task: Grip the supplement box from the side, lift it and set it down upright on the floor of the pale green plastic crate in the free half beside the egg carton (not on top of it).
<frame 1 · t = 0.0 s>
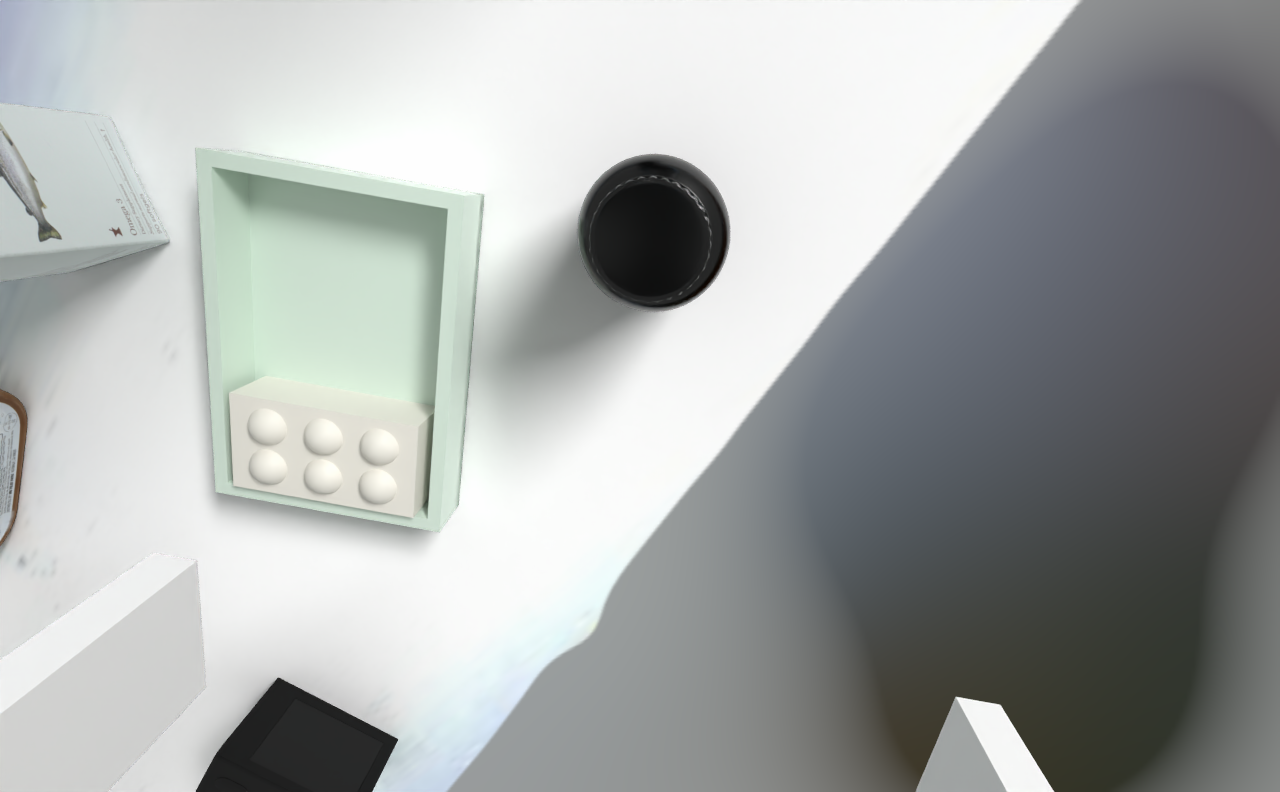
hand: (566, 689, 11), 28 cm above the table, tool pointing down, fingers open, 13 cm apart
tin: (13, 461, 43), on the table
egg carton: (356, 431, 41), resting on crate
supplement box: (95, 196, 37), on the table
digital camera: (326, 727, 49), on the table
supplement bottle: (658, 225, 36), on the table
crate: (358, 342, 39), on the table
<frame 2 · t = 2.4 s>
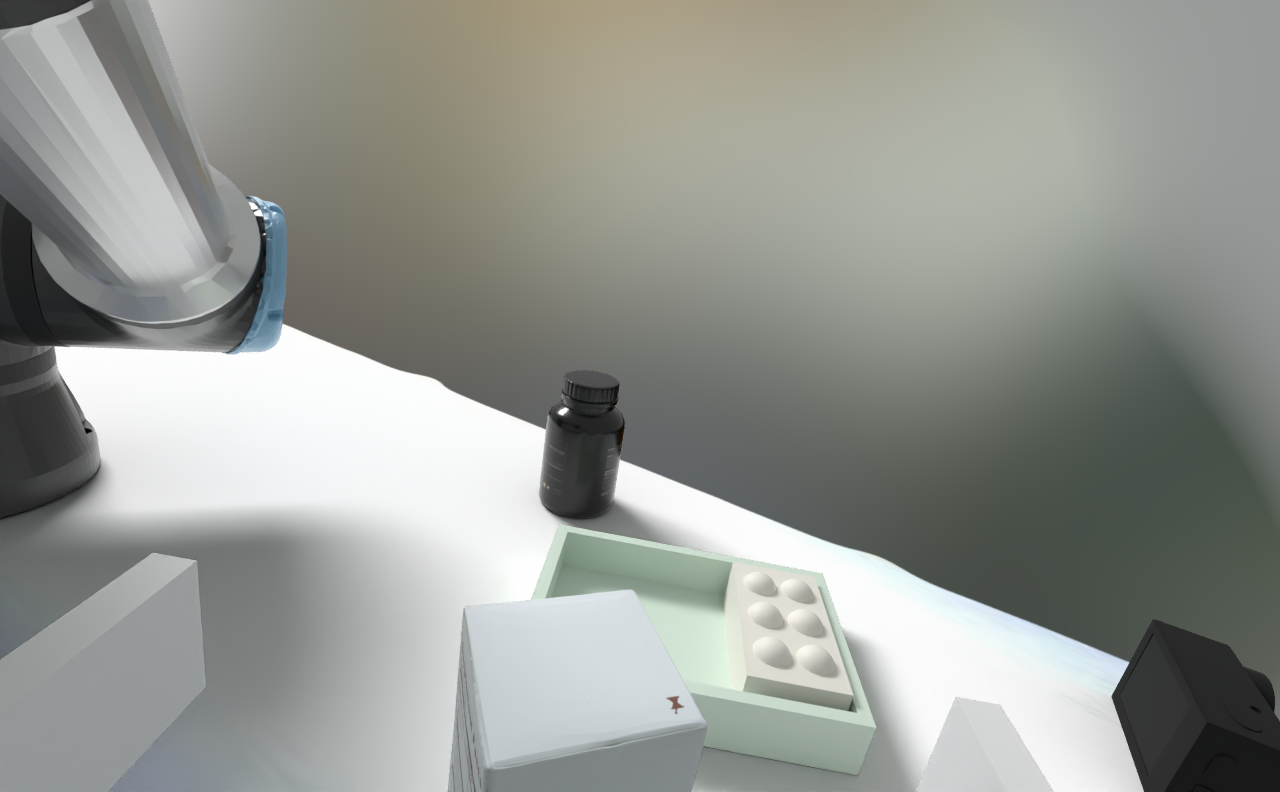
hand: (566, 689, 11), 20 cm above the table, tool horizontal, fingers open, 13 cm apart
egg carton: (770, 669, 41), resting on crate
digital camera: (1178, 773, 39), on the table
supplement bottle: (574, 503, 58), on the table
crate: (680, 652, 41), on the table
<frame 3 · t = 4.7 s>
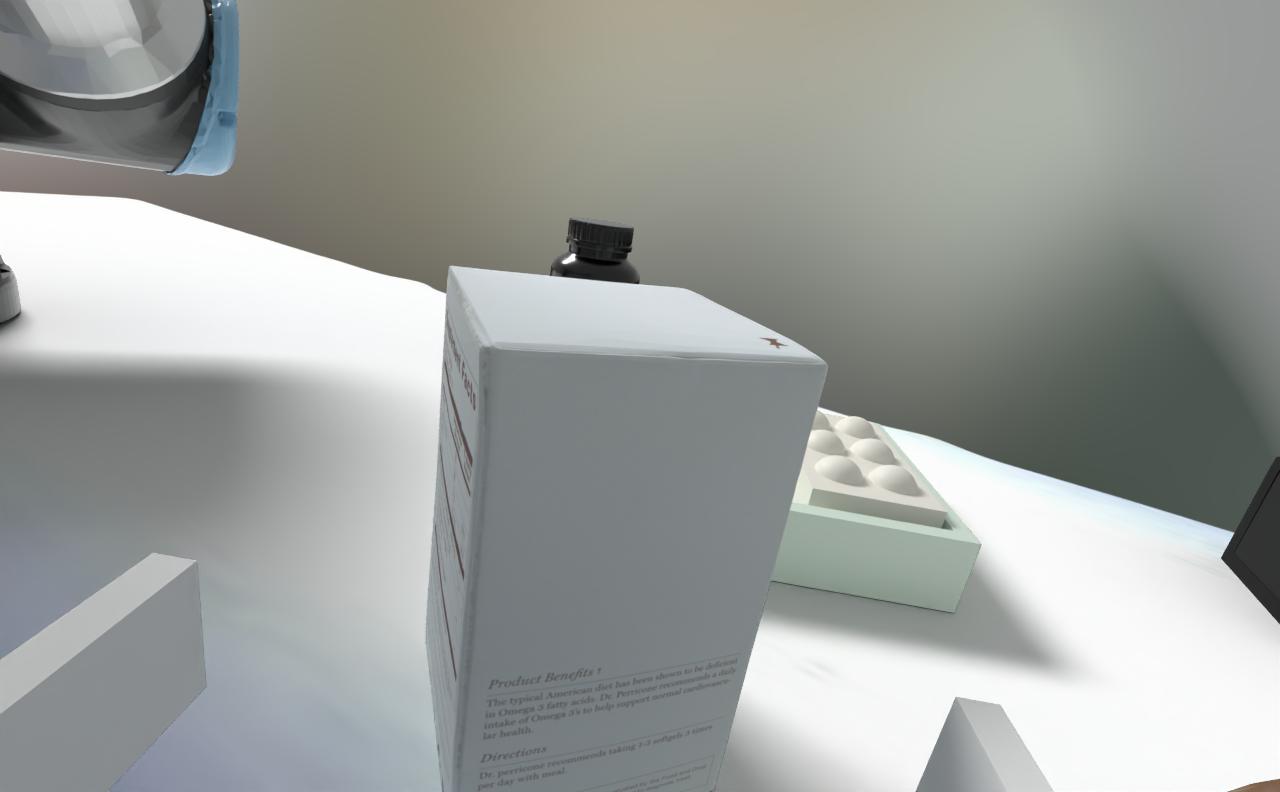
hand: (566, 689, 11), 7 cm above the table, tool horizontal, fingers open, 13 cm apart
egg carton: (827, 516, 34), resting on crate
supplement box: (555, 719, 19), on the table
supplement bottle: (581, 378, 50), on the table
crate: (718, 497, 34), on the table
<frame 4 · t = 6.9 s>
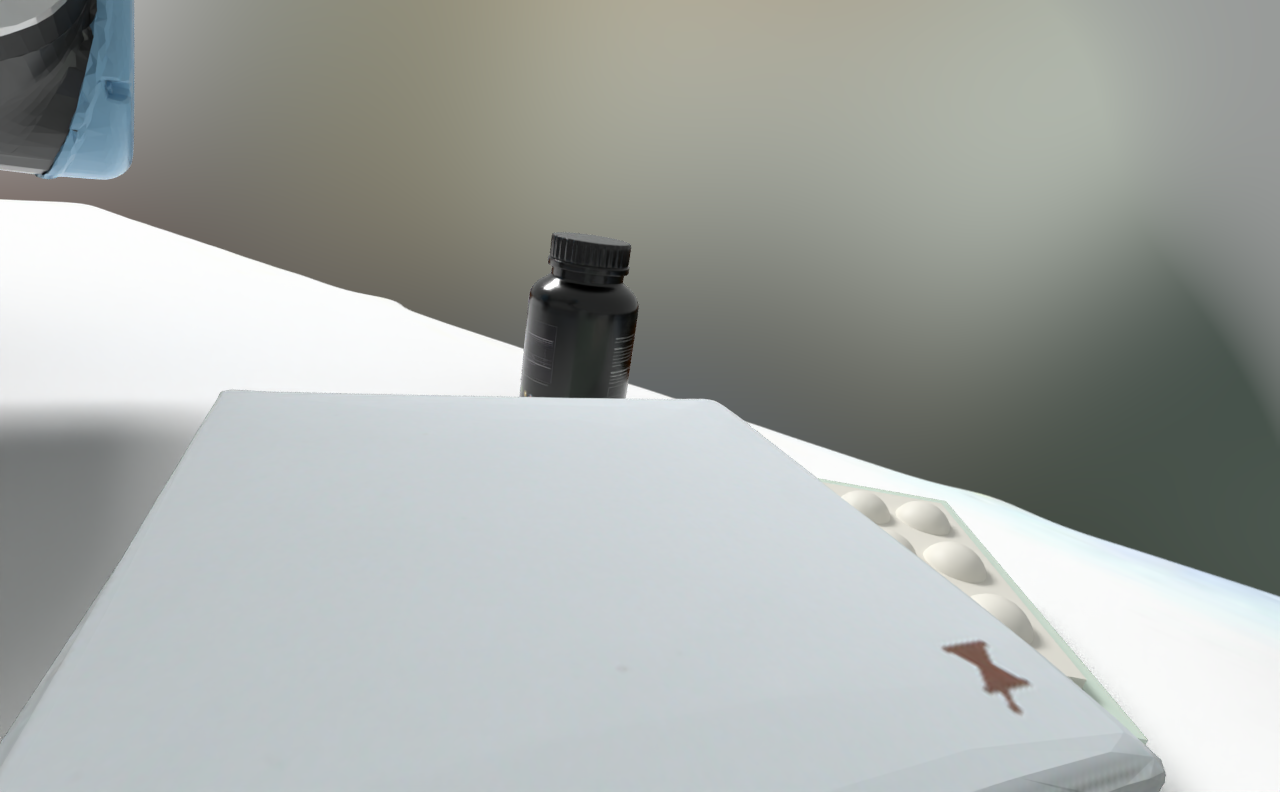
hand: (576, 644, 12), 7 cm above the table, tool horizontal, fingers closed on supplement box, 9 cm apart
egg carton: (890, 642, 25), resting on crate
supplement bottle: (568, 425, 41), on the table
crate: (743, 616, 25), on the table
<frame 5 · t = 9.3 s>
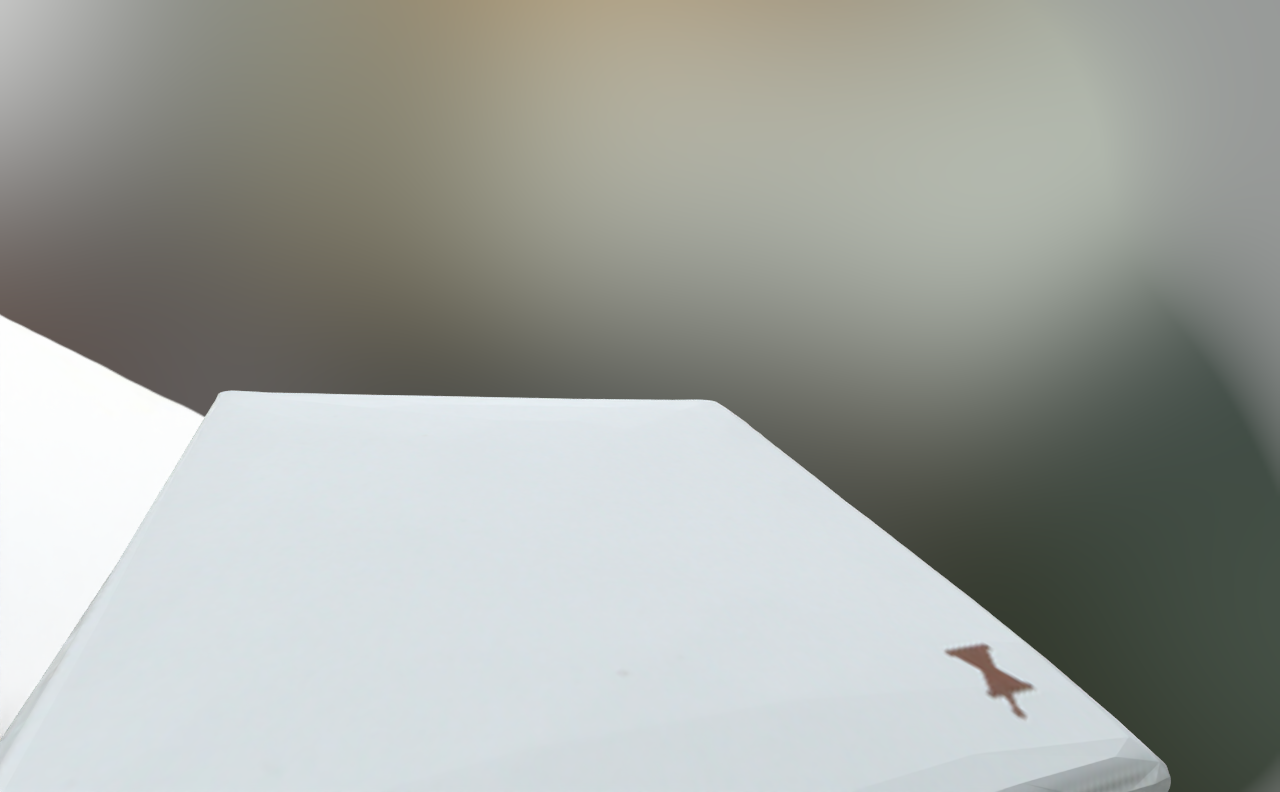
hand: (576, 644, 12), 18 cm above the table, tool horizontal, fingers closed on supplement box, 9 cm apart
when the fingers open (9 cm above the table, at t = 11.7 s): supplement box stays where it is, resting on crate.
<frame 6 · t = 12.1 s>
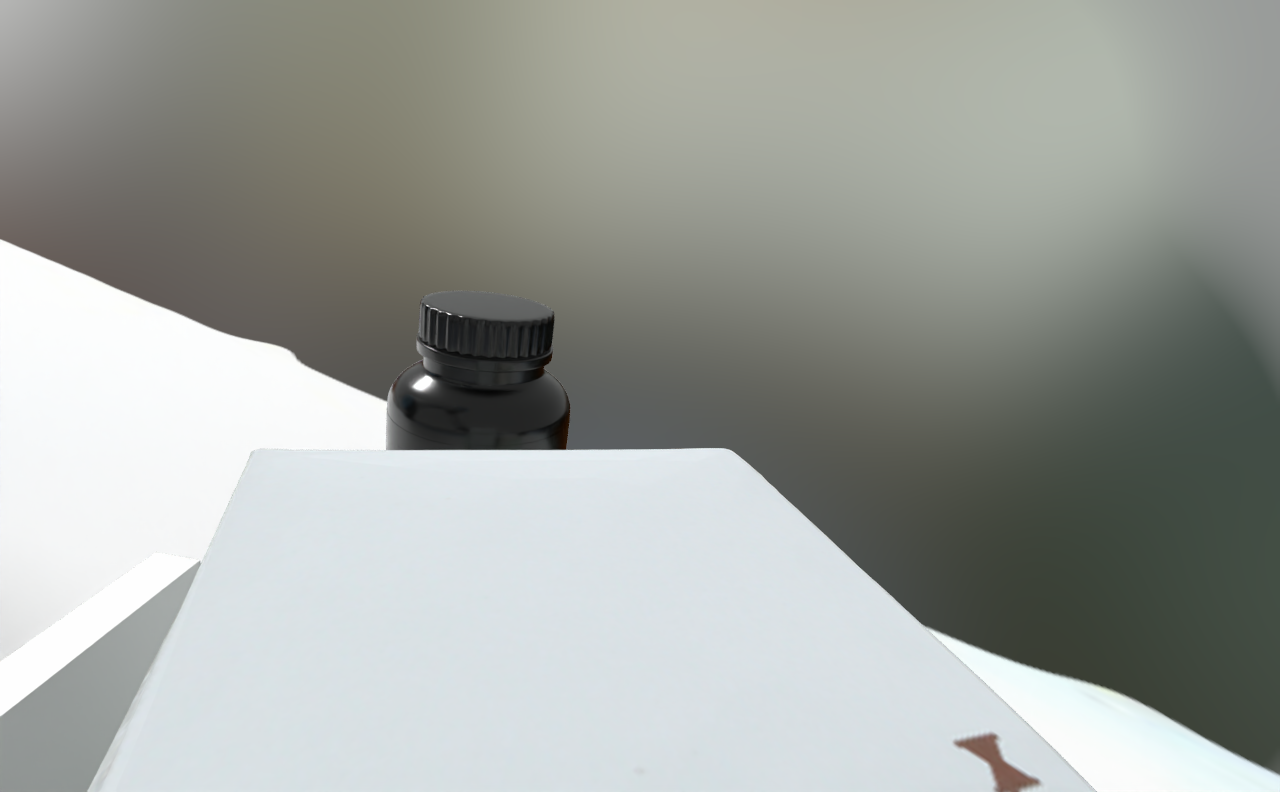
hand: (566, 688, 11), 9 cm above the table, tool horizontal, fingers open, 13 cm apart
supplement bottle: (467, 583, 27), on the table
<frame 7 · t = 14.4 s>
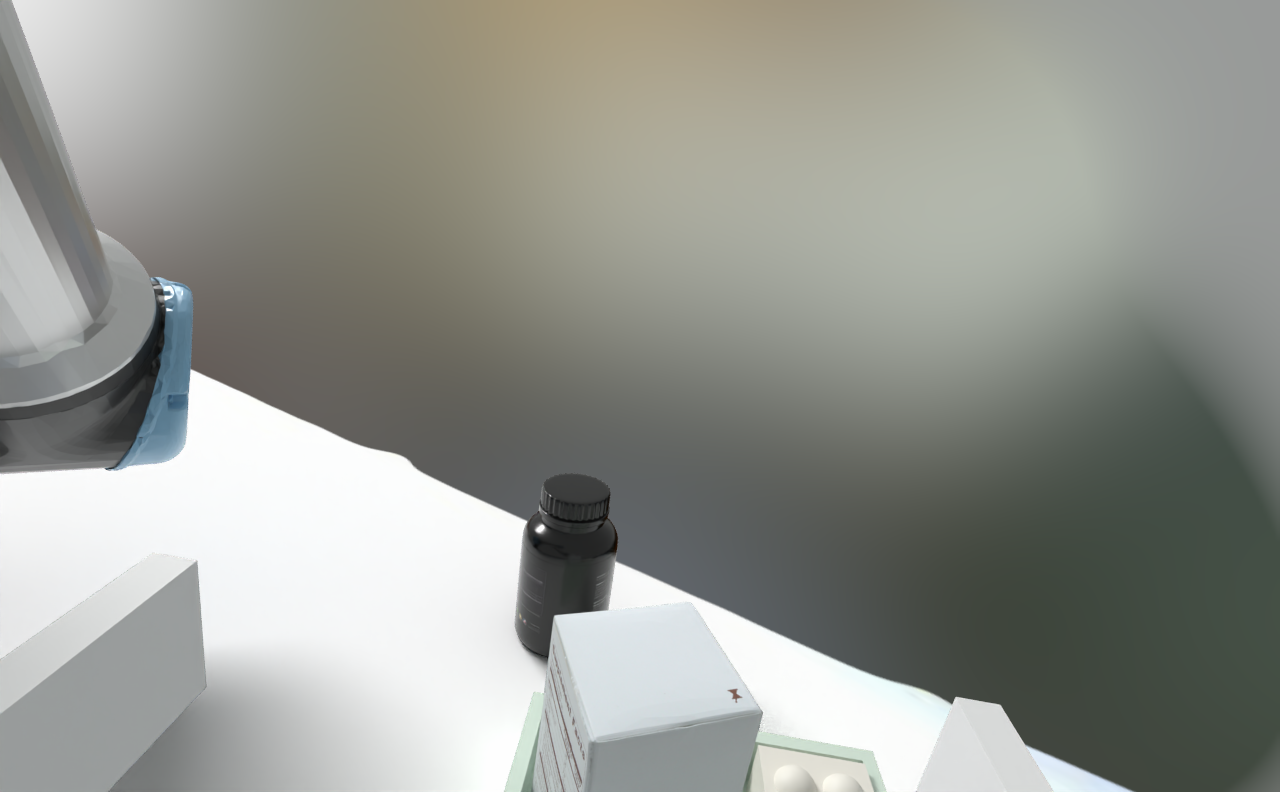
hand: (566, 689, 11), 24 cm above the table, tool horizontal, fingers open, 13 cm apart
supplement bottle: (558, 632, 47), on the table
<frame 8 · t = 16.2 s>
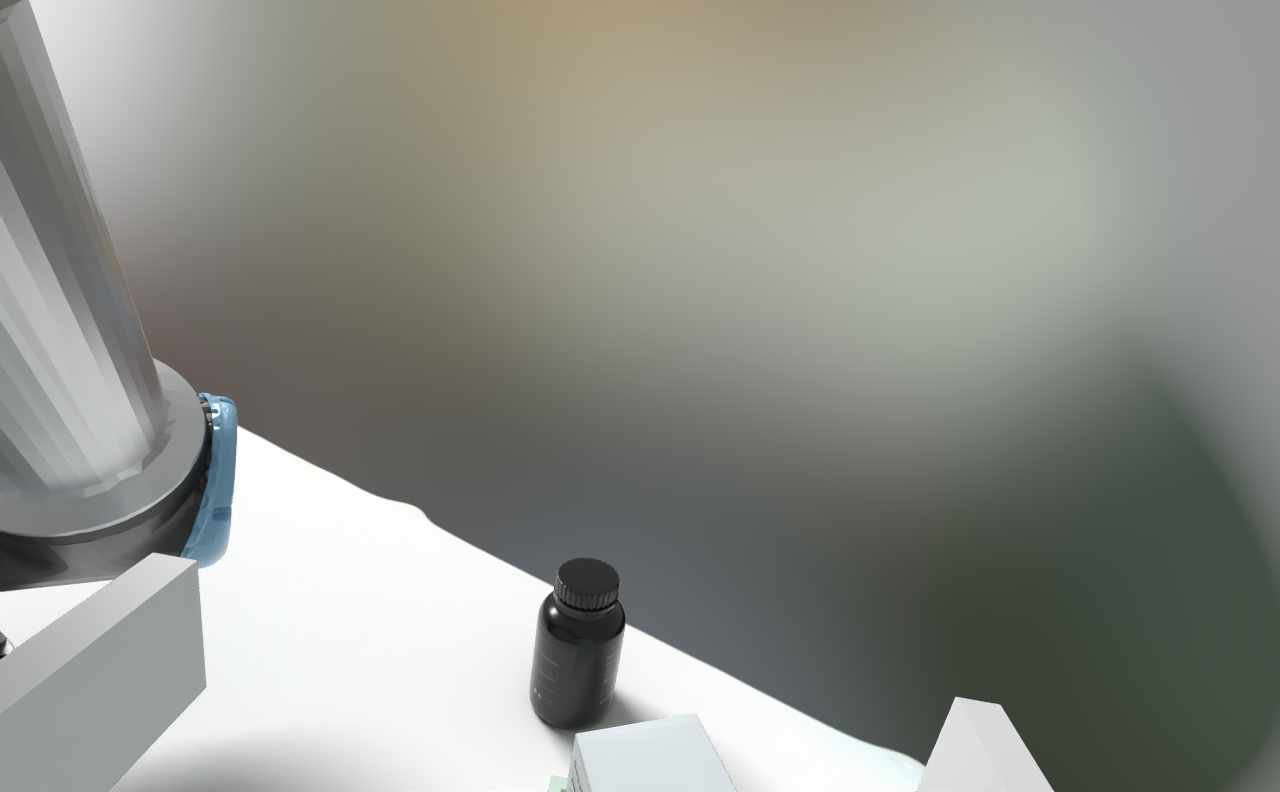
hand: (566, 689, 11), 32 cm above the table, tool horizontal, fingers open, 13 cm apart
supplement bottle: (569, 700, 51), on the table
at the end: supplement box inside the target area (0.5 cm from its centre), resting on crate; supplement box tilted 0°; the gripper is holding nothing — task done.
